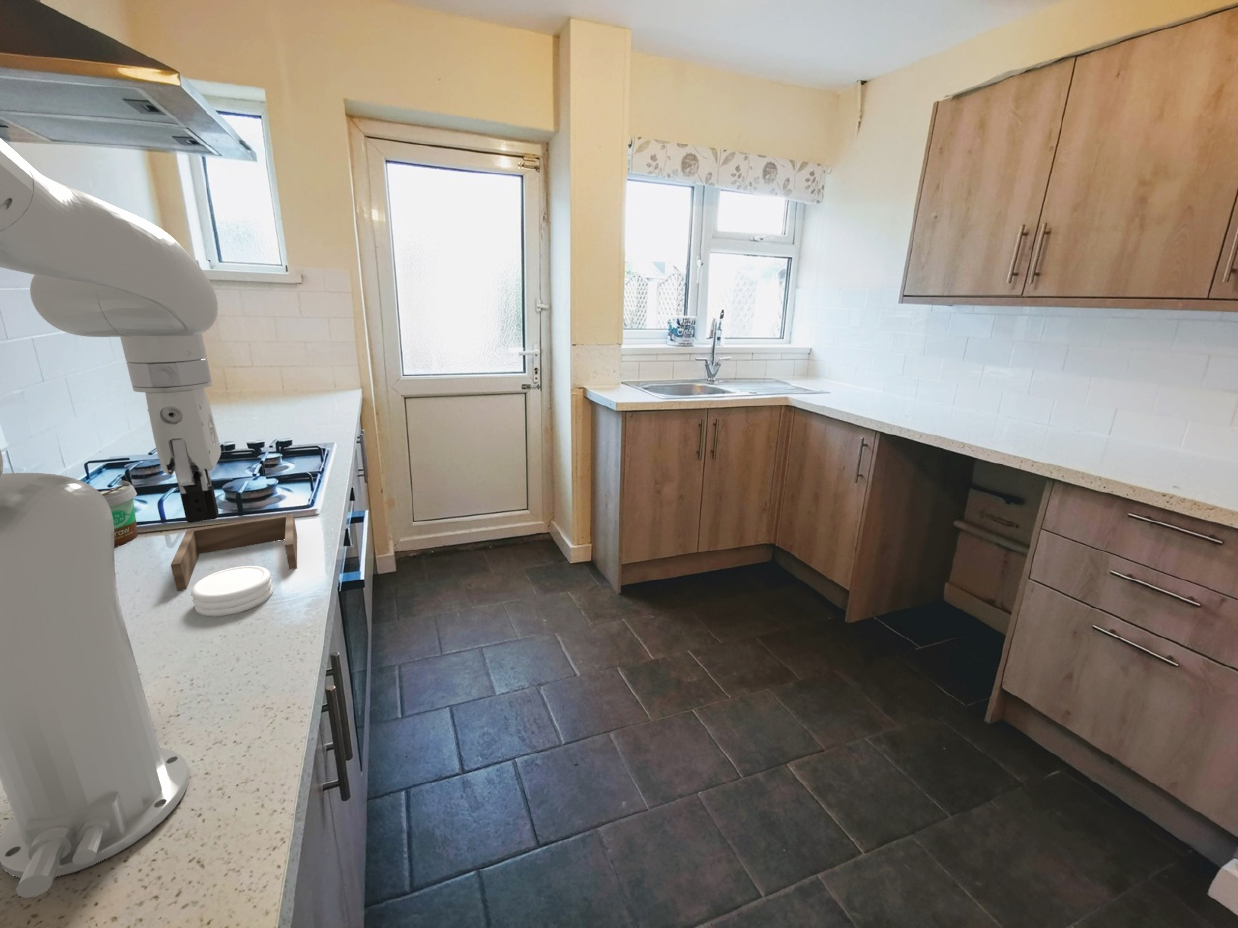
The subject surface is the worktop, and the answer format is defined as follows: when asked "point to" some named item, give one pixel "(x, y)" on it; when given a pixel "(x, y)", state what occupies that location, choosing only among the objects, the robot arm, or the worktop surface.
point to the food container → (122, 512)
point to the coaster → (232, 590)
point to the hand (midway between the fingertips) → (203, 518)
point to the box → (232, 542)
